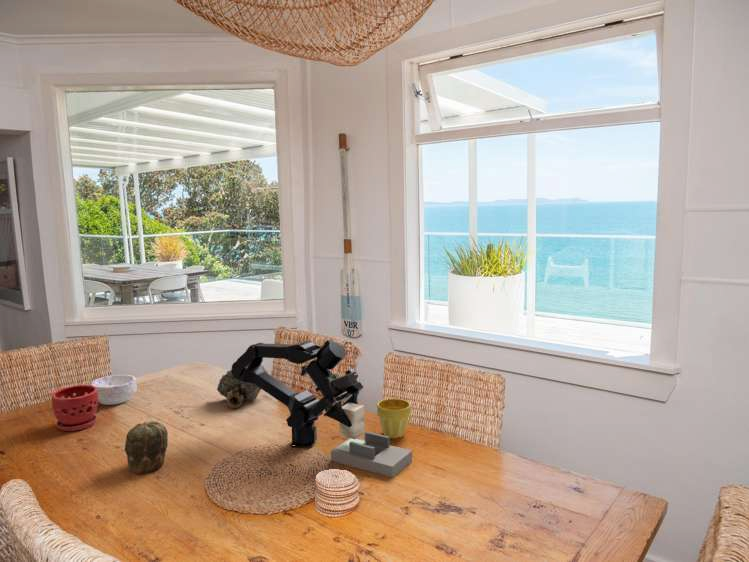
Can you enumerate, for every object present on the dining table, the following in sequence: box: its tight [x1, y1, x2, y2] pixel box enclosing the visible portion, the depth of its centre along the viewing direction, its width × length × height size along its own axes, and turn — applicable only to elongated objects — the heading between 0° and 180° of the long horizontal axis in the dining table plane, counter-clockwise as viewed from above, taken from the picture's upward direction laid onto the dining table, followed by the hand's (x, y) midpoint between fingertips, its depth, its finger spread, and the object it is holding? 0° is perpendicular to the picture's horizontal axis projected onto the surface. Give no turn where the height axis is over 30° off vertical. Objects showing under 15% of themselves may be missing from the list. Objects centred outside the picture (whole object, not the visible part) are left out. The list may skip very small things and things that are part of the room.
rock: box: [216, 364, 269, 409], centre depth 196 cm, size 18×14×15 cm
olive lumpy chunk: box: [124, 420, 169, 475], centre depth 147 cm, size 11×11×12 cm
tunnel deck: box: [330, 431, 413, 478], centre depth 149 cm, size 20×11×6 cm, turn 59°
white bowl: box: [90, 374, 138, 406], centre depth 200 cm, size 15×15×8 cm
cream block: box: [339, 403, 365, 439], centre depth 151 cm, size 5×5×8 cm
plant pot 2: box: [376, 398, 412, 439], centre depth 167 cm, size 10×10×10 cm
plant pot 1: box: [51, 384, 99, 432], centre depth 176 cm, size 13×13×12 cm
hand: (356, 423), depth 151 cm, fingers closed on cream block, 5 cm apart
